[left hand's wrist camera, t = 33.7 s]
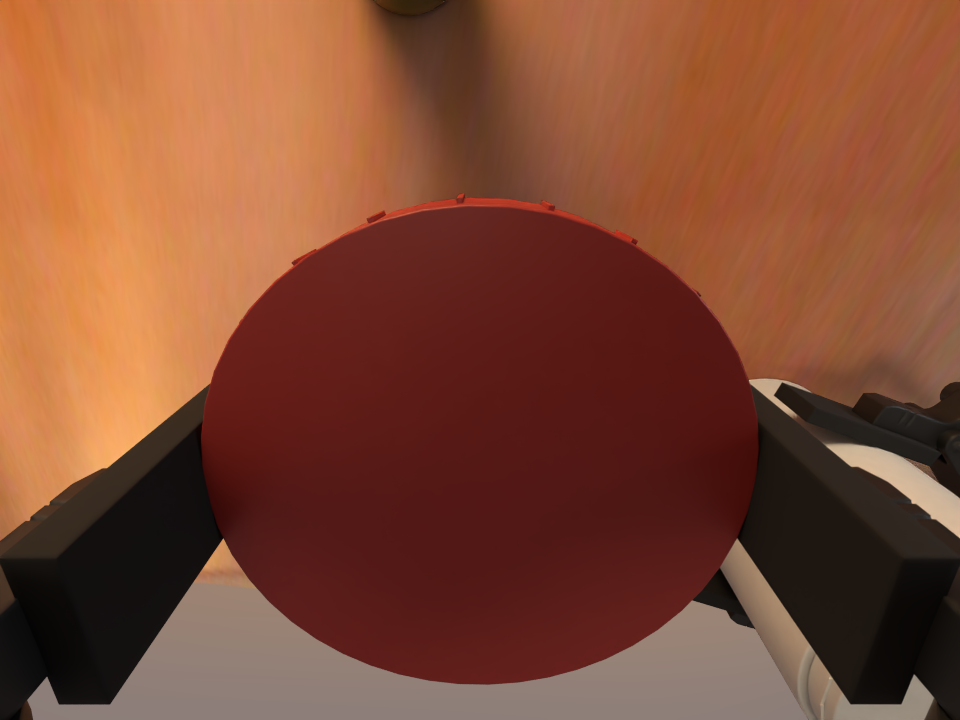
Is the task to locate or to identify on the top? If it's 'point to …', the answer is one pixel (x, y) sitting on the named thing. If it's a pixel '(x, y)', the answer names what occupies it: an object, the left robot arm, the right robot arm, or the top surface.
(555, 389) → the lid
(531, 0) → the top surface
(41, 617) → the left robot arm
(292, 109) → the top surface
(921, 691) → the screw-top jar
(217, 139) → the top surface
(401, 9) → the soda can
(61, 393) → the top surface
